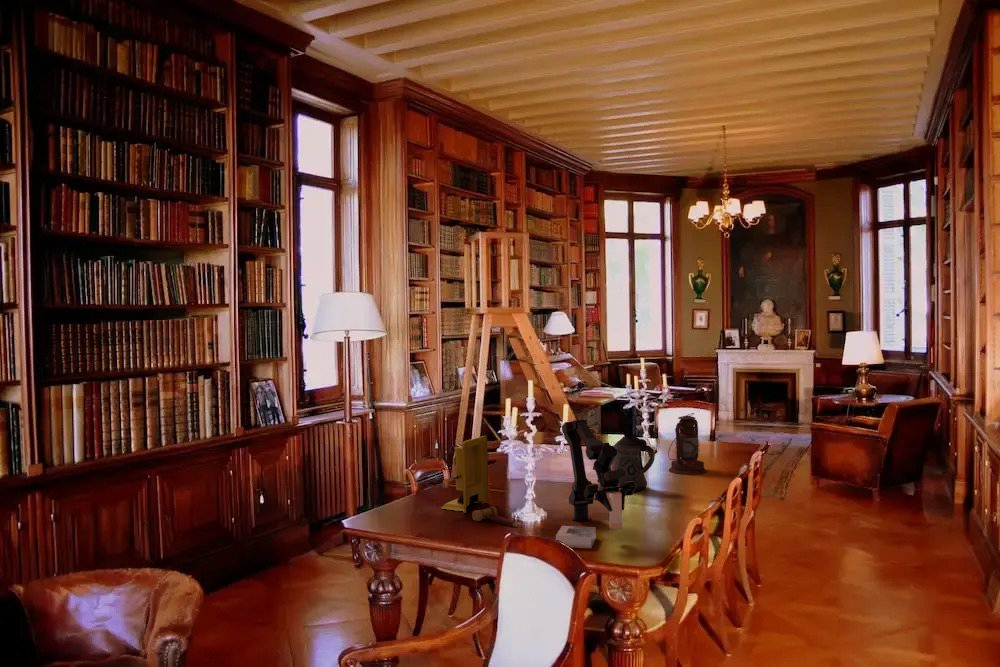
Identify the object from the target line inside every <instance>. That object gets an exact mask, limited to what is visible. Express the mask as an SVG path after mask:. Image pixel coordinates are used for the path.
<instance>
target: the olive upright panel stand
mask: <svg viewBox="0 0 1000 667" xmlns="http://www.w3.org/2000/svg"><path fill="white" fill-rule="evenodd" d="M454 451H455V452H454V453H455V454H454V455H453V458H452V462H453V465H454V466H455V476H453V477H450V478H448V479H444V480H442V482H443V484H446V483H448V482H450V481H451V482H452V481H453V480H455V490H456V491H462V492H463V493H462V494H461V495H460V496H459V497H458V498H456V499H453V500H451V501H448V502H446V503H444V504H443V506H441V507H440V510H443V509H446V510H445V511H450V510H454V511H453V512H458V511H463V512H462V513H463V514H464V513H466V514H467V507H468V506H470V504H471V503H470V502H478V503H489V504H490V501H489V500H490V499H489V498H490V497H489V496H490V495H489V494H490V492H489V485H491V484H492V482H494V480H492V481H491V483H490V484H489V469H492V467H491V465H489V464H488V463H491V461H490V460H491V459H489V458H490V455H489V449H488V436H487V435H482V436H479V437H478V436H477V437H474V438H471V439H468V440H467V439H466V440H464V441H463V442H462V444H461V446H457V447H455V448H454ZM488 461H489V462H488ZM489 467H490V468H489ZM491 474H493V472H492V471H491Z"/></svg>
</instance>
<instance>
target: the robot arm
mask: <svg viewBox="0 0 1000 667" xmlns="http://www.w3.org/2000/svg"><path fill="white" fill-rule="evenodd" d="M561 432H562V434H563V437H564V440H565V441H566V442H567V443H568V445H569V451H570V452H569V453H570V458H571V465H572V472H573V479H574V481H573V483H572V485H571V492H570V493H569V496H568V502H569V504H570V505H571V506H573V517H572V518H571V520H572V521H576V522H578V521H579V522H580V521H581V522H589V521H590V519H591V515H589V505H594V500H595V501H598V502H599V503H600V504H601V505H603V507H604V508H606V510H607V511H608V512H609V511H610V512H611V511H612V509H611V506H610V503H609V497H608V495H607V494H609V493H610V492H621V493H622V512H623V511H624V510H625V497H627V496H632V495H634V494H635V493H634V491H635V489H636V487H637V486H636V483H635V482H634V481H627V482H624V483H623V485H622V486H617V484H618V483H619V481H618V480H620V479H621V478H623V477H625V472H624V469H623V468H619V469H617V470H615V469H614V470H612V467H611V466H612V465H613V464H614V461H615V460H616V456H617V449H616V446H613V445H611V444H610V443H609V442H603V441H602V440H601V439H597V437H596V435H595V434H594V433H593V431H592V429H591V428H590V426H589V425H588V421H587V419H583V418H582V419H581V418H579V419H574V420H572V421H565V422H564V423H563V424H562V425H561ZM582 442H583V444H584V445H585V451H584V452H585V455H586V457H587V459H588V460H590V461H594V463H593V466H592V470H593V471H595V474H596V477H597V480H596V481H597V483H598V484H597V483H596V484H593V483H592V481H591V480H589V479H588V478H587V475H586V474H587V473H586V466H585V461H584V455H583V454H584V453H583V447H582ZM599 485H600V486H599Z"/></svg>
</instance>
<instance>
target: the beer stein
mask: <svg viewBox="0 0 1000 667" xmlns="http://www.w3.org/2000/svg"><path fill="white" fill-rule="evenodd" d="M615 448H616V449H617V455H616V457H615V463H614V464H615V465H614V470H617V469H619V468H623V469H624V472H625V477H623V478H621V479H620V480H618V481H619V483H618V484H617V486H622V485H623V483H624V482H627V481H634V482H635V483H636V486H637V487H636V489H635V491H634V493H633V494H635V493H636V494H637V493H642V492H644V491H646V490H647V486H648V481H647V478H646V475H645V473H646V472H647V471H649V469H650V468H651V467H652V466H653V464H654V463H655V458H656V455H655V452H654V451H655V450H654V448H653V447H652V446H650V445H648V443H647V441H646V440H645V439H644V438H639V437H637V435H635V434H625V435H624V436H623V437H622V438H621V439H620V440H619V441H618V442H616V444H615ZM643 452H645V453H647V454H648V456H649V459H648V460H647V463H646V464H645V465H643V459H642V453H643Z"/></svg>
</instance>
